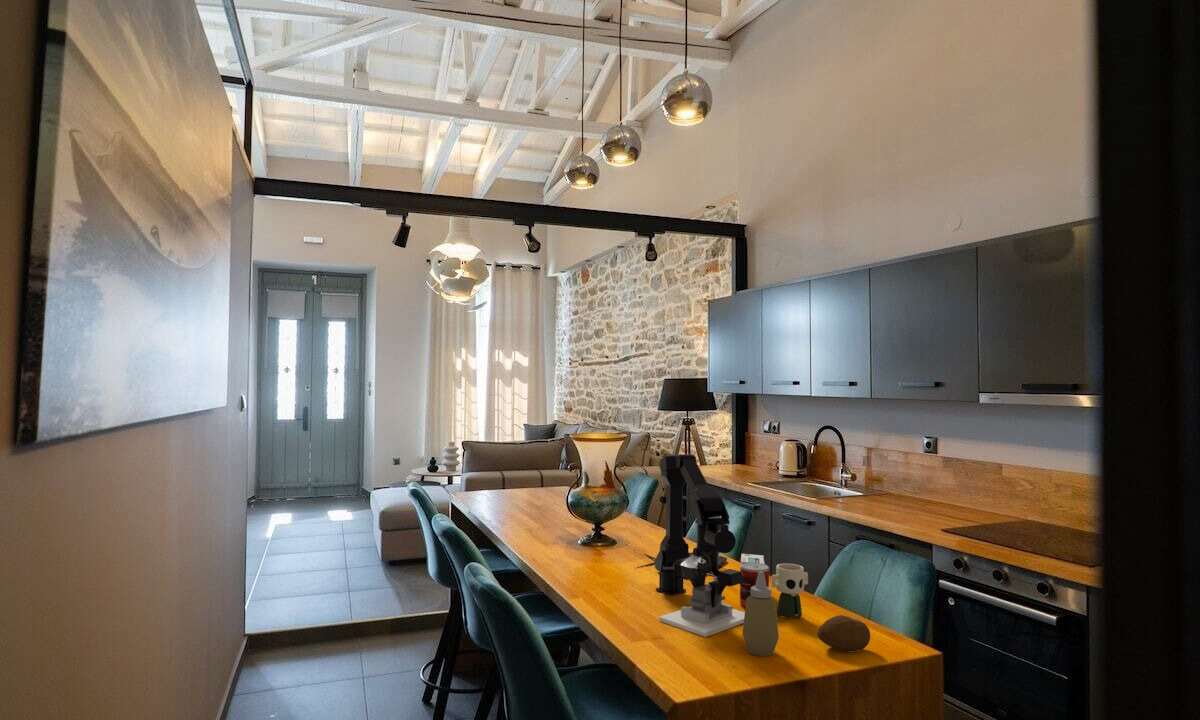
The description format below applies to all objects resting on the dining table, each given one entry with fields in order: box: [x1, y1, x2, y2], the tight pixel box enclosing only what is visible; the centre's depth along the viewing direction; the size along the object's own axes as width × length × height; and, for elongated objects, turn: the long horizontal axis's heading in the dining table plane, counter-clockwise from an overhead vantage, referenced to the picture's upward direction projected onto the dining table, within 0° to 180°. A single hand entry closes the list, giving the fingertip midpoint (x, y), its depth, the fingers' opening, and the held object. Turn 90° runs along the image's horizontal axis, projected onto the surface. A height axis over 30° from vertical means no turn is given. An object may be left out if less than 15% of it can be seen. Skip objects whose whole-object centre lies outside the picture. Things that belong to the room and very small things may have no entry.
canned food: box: [739, 563, 770, 609], centre depth 195 cm, size 8×8×11 cm
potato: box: [816, 614, 871, 652], centre depth 164 cm, size 8×12×8 cm, turn 103°
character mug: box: [771, 563, 809, 619], centre depth 187 cm, size 11×7×13 cm, turn 108°
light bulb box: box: [740, 553, 766, 565], centre depth 205 cm, size 11×7×11 cm, turn 168°
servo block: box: [688, 581, 726, 614], centre depth 183 cm, size 4×10×7 cm, turn 133°
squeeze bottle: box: [742, 572, 780, 657], centre depth 162 cm, size 8×8×18 cm
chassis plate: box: [658, 602, 745, 638], centre depth 183 cm, size 15×20×3 cm
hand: (706, 605), depth 183 cm, fingers closed on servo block, 4 cm apart
